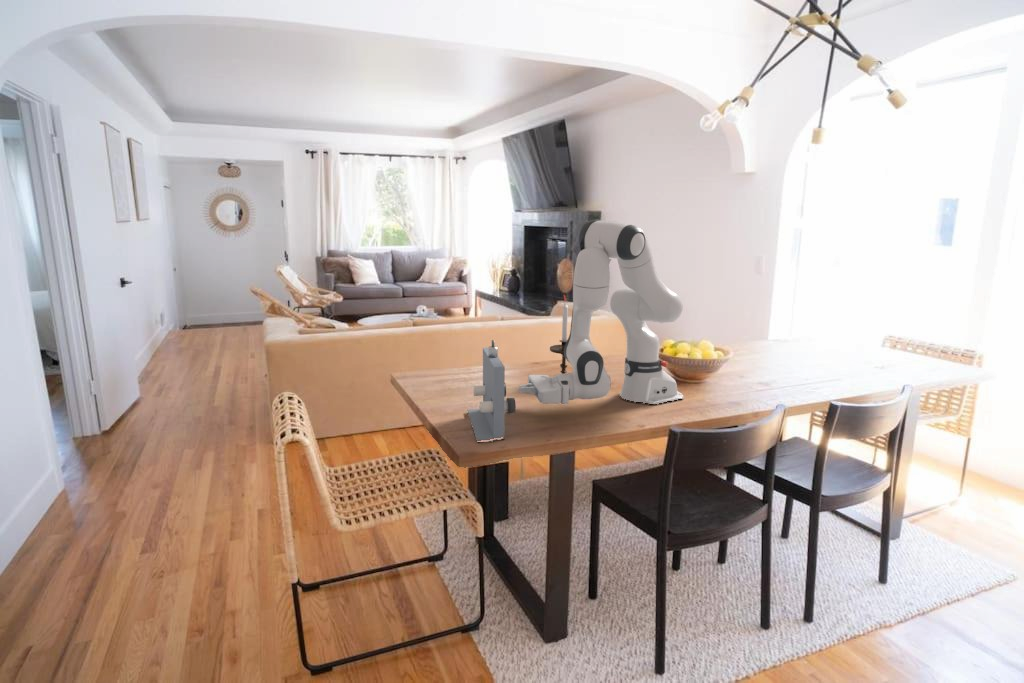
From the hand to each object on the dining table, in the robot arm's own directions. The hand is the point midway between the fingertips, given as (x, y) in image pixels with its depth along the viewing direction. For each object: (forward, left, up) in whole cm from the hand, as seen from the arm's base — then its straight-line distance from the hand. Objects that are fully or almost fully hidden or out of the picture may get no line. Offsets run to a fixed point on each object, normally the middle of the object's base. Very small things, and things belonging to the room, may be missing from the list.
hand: (519, 389), depth 189 cm
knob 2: (+12, +15, -2) cm, 19 cm away
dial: (+11, +7, +13) cm, 19 cm away
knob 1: (+10, -1, -2) cm, 10 cm away
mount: (+13, +7, -9) cm, 17 cm away
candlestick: (-27, -28, -9) cm, 40 cm away
